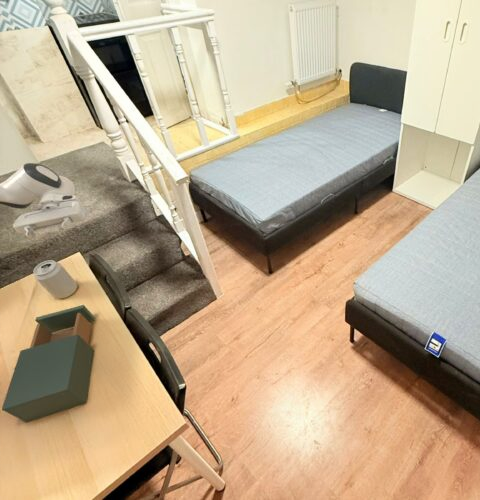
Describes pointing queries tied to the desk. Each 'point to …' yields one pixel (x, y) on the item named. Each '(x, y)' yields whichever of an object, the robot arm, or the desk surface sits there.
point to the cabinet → (50, 379)
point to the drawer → (63, 325)
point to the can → (55, 279)
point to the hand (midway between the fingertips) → (45, 232)
